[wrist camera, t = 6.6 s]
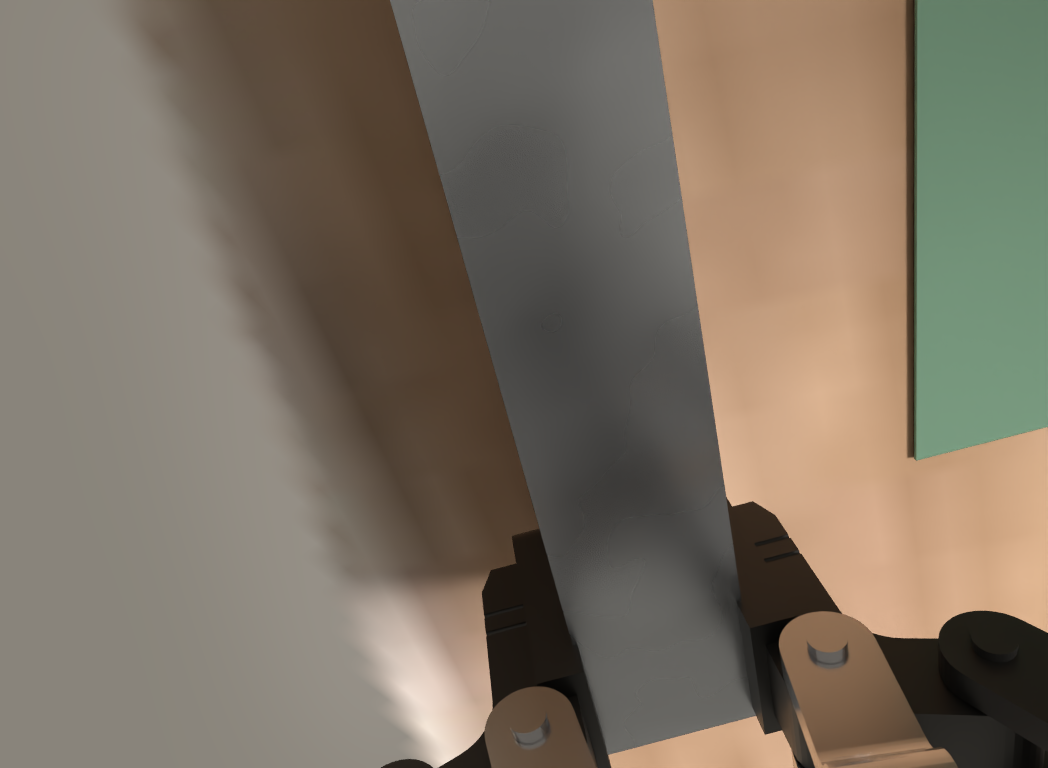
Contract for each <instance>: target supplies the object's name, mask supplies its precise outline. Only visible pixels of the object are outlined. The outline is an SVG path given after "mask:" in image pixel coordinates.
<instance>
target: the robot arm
mask: <svg viewBox="0 0 1048 768" xmlns="http://www.w3.org/2000/svg"><path fill="white" fill-rule="evenodd" d="M726 500H727V507H728V513H729V520H730V527H731V534H732V540H733V547H734V554H735V560H736V567H737V574H738V581H739V587H740V594H741V601H740V602H737V608H738V615H739V622H740V628H741V635H742V641H743V648H744V654H745V661H746V668H747V674H748V681H749V687H750V694H751V700H752V707H753V710H754V712H755V714H756V716H757V718H758V721H759V723H760V725H761V727H762V729H763V731H764V734H765V735H766V734H769V733H773V732H777V731H781V730H783V732H784V735H785V737H786V739H787V741H788V743H789V745H790V747H791V750H792V759H793V766H794V768H1048V633H1047V632H1045V631H1043V630H1041V629H1039V628H1037V627H1035V626H1033V625H1031V624H1029V623H1027V622H1025V621H1022V620H1020V619H1018V618H1016V617H1013V616H1010V615H1007V614H1004V613H998V612H993V611H972V612H966V613H962V614H959V615H957V616H955V617H953V618H951V619H950V620H948V621H947V622H946V623H945V624H944V625H943V627H942V629H941V631H940V633H939V639H918V638H891V637H885V636H881V635H877V634H873V633H872V632H871V631H870V630H869V629H868V628H867V627H866V626H865V625H863V624H862V623H861V622H859V621H858V620H856V619H854V618H852V617H849V616H847V615H844V614H842V613H841V612H840V610H839V609H838V607H837V606H836V604H835V603H834V602H833V600H832V599H831V597H830V596H829V594H828V593H827V591H826V590H825V588H824V587H823V585H822V584H821V582H820V581H819V579H818V578H817V576H816V575H815V573H814V572H813V570H812V569H811V568H810V566H809V565H808V563H807V562H806V560H805V559H804V557H803V556H802V554H800V553H799V550H798V548H797V547H796V545H795V544H794V542H793V541H792V539H791V538H789V536H788V534H787V532H786V531H785V529H784V528H783V526H782V525H781V523H780V522H779V520H778V519H777V517H776V516H775V515H774V514H772V513H771V512H769V511H768V510H766V509H764V508H763V507H761V506H759V505H758V504H756V503H755V502H753V501H752V502H748V503H745V504H741V505H737V506H733V507H732V506H731V504H730V502H729V501H728V499H727V497H726ZM512 540H513V546H514V552H515V558H516V564H513V565H510V566H506V567H502V568H498V569H494V570H491V572H490V574H489V577H488V579H487V581H486V584H485V586H484V589H483V591H482V598H483V608H484V616H485V629H486V635H487V637H486V639H487V649H488V659H489V669H490V679H491V689H492V699H493V709H492V712H491V713H490V715H489V717H488V719H487V722H486V726H485V731H484V732H483V734H482V735H481V737H480V738H479V739H478V740H477V741H476V742H475V743H474V744H473V745H472V746H471V747H470V748H469V749H468V750H466V751H465V752H463V753H462V754H460V755H459V756H457V757H455V758H454V759H452V760H450V761H449V762H447V763H445V764H444V765H442V766H440V767H439V768H611V765H610V761H609V756H608V752H607V748H606V745H605V741H604V737H603V734H602V730H601V727H600V723H599V719H598V716H597V712H596V709H595V705H594V702H593V698H592V694H591V691H590V687H589V684H588V680H587V676H586V673H585V669H584V666H583V662H582V659H581V655H580V651H579V648H578V645H574V646H573V645H572V641H571V638H570V634H569V631H568V627H567V624H566V620H565V617H564V613H563V610H562V606H561V603H560V599H559V596H558V592H557V588H556V585H555V581H554V578H553V574H552V571H551V567H550V564H549V560H548V557H547V553H546V550H545V546H544V543H543V539H542V536H541V532H540V529H536V530H533V531H529V532H525V533H521V534H517V535H514V536H512ZM381 768H433V767H432V766H430V765H429V764H427V763H425V762H423V761H420V760H414V759H405V760H399V761H395V762H392V763H389V764H387V765H385V766H383V767H381Z"/></svg>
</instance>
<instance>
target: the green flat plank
mask: <svg viewBox="0 0 1048 768" xmlns="http://www.w3.org/2000/svg"><path fill="white" fill-rule="evenodd" d="M1045 427H1048V0H915V159H914V459H915V460H916V461H917V460H920V459H924V458H928V457H932V456H936V455H940V454H944V453H948V452H952V451H955V450H959V449H963V448H967V447H971V446H975V445H979V444H983V443H987V442H991V441H994V440H998V439H1002V438H1006V437H1010V436H1014V435H1018V434H1022V433H1026V432H1029V431H1033V430H1037V429H1041V428H1045Z"/></svg>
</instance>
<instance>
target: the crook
mask: <svg viewBox="0 0 1048 768" xmlns="http://www.w3.org/2000/svg"><path fill="white" fill-rule="evenodd" d="M390 2H391V6H392V9H393V13H394V16H395V20H396V23H397V27H398V31H399V34H400V38H401V41H402V45H403V48H404V52H405V55H406V59H407V62H408V66H409V69H410V73H411V76H412V80H413V83H414V87H415V91H416V94H417V98H418V101H419V105H420V108H421V112H422V115H423V119H424V122H425V126H426V129H427V133H428V136H429V140H430V144H431V147H432V151H433V154H434V158H435V161H436V165H437V168H438V172H439V175H440V179H441V182H442V186H443V189H444V193H445V196H446V200H447V204H448V207H449V211H450V214H451V218H452V221H453V225H454V228H455V232H456V235H457V239H458V242H459V246H460V249H461V253H462V257H463V260H464V264H465V267H466V271H467V274H468V278H469V281H470V285H471V288H472V292H473V295H474V299H475V302H476V306H477V309H478V313H479V317H480V320H481V324H482V327H483V331H484V334H485V338H486V341H487V345H488V348H489V352H490V355H491V359H492V362H493V366H494V370H495V373H496V377H497V380H498V384H499V387H500V391H501V394H502V398H503V401H504V405H505V408H506V412H507V415H508V419H509V422H510V426H511V430H512V433H513V437H514V440H515V444H516V447H517V451H518V454H519V458H520V461H521V465H522V468H523V472H524V475H525V479H526V483H527V486H528V490H529V493H530V497H531V500H532V504H533V507H534V511H535V514H536V518H537V521H538V525H539V528H540V532H541V536H542V539H543V543H544V546H545V550H546V553H547V557H548V560H549V564H550V567H551V571H552V574H553V578H554V581H555V585H556V588H557V592H558V596H559V599H560V603H561V606H562V610H563V613H564V617H565V620H566V624H567V627H568V631H569V634H570V638H571V641H572V645H573V646H574V645H578V648H579V651H580V655H581V659H582V662H583V666H584V669H585V673H586V676H587V680H588V684H589V687H590V691H591V694H592V698H593V702H594V705H595V709H596V712H597V716H598V719H599V723H600V727H601V730H602V734H603V737H604V741H605V745H606V748H607V752H608V755H609V754H613V753H617V752H621V751H624V750H628V749H632V748H636V747H640V746H643V745H647V744H651V743H655V742H658V741H662V740H666V739H670V738H674V737H677V736H681V735H685V734H689V733H692V732H696V731H700V730H704V729H708V728H711V727H715V726H719V725H723V724H726V723H730V722H734V721H738V720H742V719H745V718H749V717H753V716H756V714H755V712H754V710H753V707H752V700H751V694H750V687H749V681H748V674H747V668H746V661H745V654H744V648H743V641H742V635H741V628H740V622H739V615H738V608H737V602H740V601H741V594H740V587H739V581H738V574H737V567H736V560H735V554H734V547H733V540H732V534H731V527H730V520H729V513H728V507H727V500H726V493H725V486H724V480H723V473H722V466H721V459H720V453H719V446H718V439H717V432H716V426H715V419H714V412H713V405H712V399H711V392H710V385H709V378H708V372H707V365H706V358H705V351H704V345H703V338H702V331H701V324H700V318H699V311H698V304H697V297H696V291H695V284H694V277H693V270H692V264H691V257H690V250H689V244H688V237H687V230H686V223H685V217H684V210H683V203H682V196H681V190H680V183H679V176H678V169H677V163H676V156H675V149H674V142H673V136H672V129H671V122H670V115H669V109H668V102H667V95H666V88H665V82H664V75H663V68H662V61H661V55H660V48H659V41H658V34H657V28H656V21H655V14H654V7H653V1H652V0H390Z"/></svg>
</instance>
